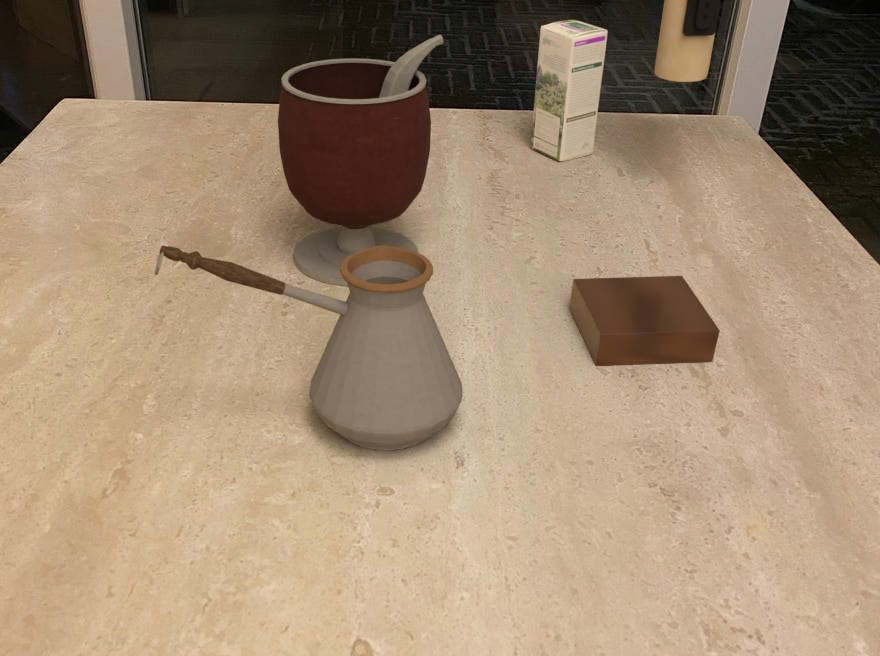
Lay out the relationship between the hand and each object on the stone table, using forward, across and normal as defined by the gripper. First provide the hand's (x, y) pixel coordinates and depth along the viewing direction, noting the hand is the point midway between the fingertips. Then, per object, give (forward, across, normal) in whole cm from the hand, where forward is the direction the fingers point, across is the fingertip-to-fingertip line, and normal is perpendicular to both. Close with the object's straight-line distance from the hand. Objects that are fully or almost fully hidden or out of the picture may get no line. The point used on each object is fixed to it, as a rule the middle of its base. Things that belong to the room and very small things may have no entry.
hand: (688, 25), depth 102 cm
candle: (+5, 0, 0) cm, 5 cm away
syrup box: (+18, +13, +9) cm, 24 cm away
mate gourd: (+17, -15, +35) cm, 41 cm away
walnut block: (+18, -32, +12) cm, 38 cm away
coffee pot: (+18, -44, +40) cm, 61 cm away
